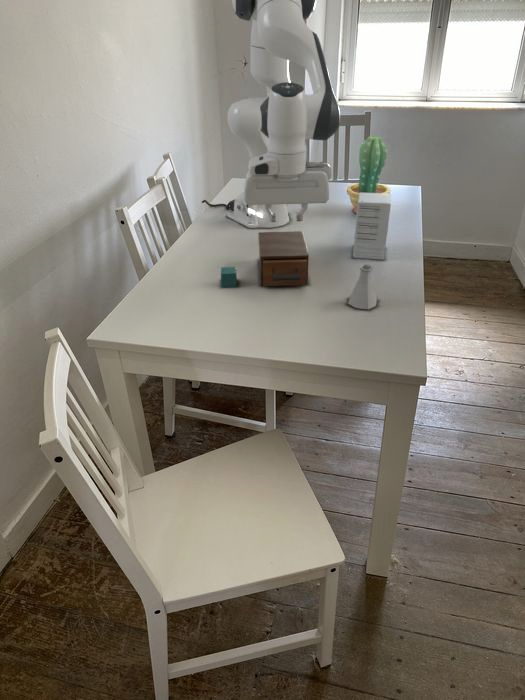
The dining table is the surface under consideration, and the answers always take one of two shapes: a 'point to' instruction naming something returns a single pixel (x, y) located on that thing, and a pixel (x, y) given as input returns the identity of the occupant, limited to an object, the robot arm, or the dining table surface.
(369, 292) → the flask
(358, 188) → the potted cactus
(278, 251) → the cabinet
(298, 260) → the drawer
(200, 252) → the dining table surface
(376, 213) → the supplement box
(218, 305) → the dining table surface
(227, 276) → the block
